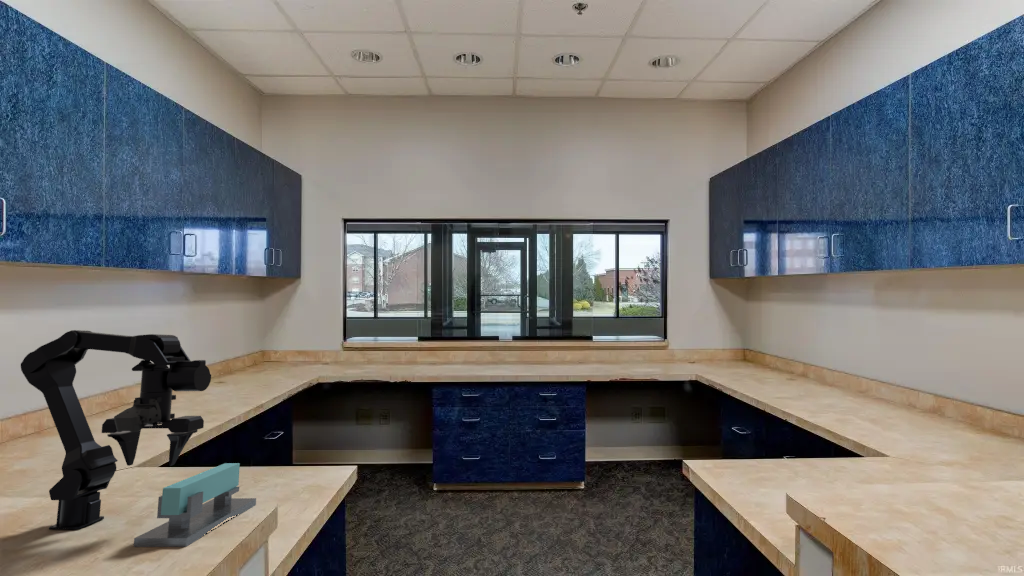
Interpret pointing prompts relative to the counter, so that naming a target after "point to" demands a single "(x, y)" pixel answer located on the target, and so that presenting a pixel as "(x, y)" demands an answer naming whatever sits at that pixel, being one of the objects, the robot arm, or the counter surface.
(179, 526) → the bracket stand
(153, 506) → the counter surface
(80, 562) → the counter surface
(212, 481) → the teal rail
